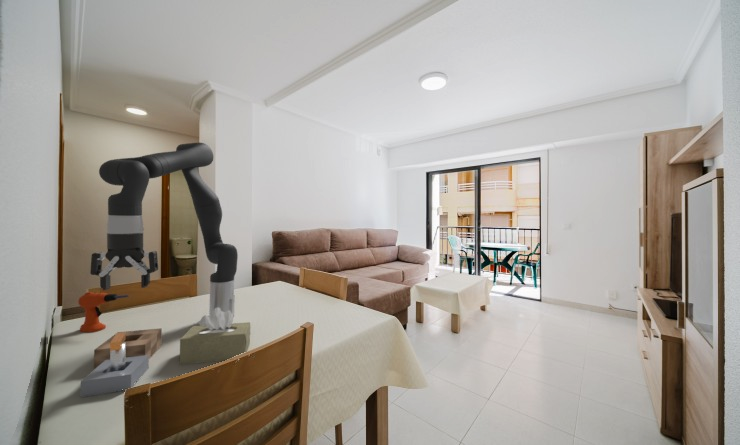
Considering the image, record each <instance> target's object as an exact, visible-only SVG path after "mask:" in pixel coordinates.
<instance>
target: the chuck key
mask: <svg viewBox="0 0 740 445" xmlns="http://www.w3.org/2000/svg"><path fill="white" fill-rule="evenodd" d="M121 332H122V333H118V332H116V333H115V334H114V335H115V336H114V335H113V336H114V338H113V339H112V341H111V343H110V372H114V371H122V370H125V364H126V342H124V341H125V339H126V331H121Z"/></svg>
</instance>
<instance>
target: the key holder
mask: <svg viewBox="0 0 740 445" xmlns="http://www.w3.org/2000/svg"><path fill="white" fill-rule="evenodd" d="M149 360H150V359H149V355H144V356H135V357H127V358H126V364H125V370H122V371H114V372H110V360H105V361H104V362H103V363H101V364H100V365H99V366H98V367H97V368H96V369H94V368H93V370H92V371H91V372H89V374H87V375H86V376H85V377H83V379H81V380H80V395H79V396H80V398H83V397H90V396H91V397H92V396H98V395H102V394H105V395H106V394H110V393H111V394H112V393H117V392H116V391H118V392H122V391H121V390H122V389H123V391H126V390H125V389H128V388H131V387H135V385H134V383H135V382H136V381H137V380H138V381H139V380H140V379H141V378H142V377H143V376H144V374H145V373H146V372H147V371H148V369H149V368H150V367H149V366H150V365H149V363H150V361H149ZM141 376H142V377H141ZM140 377H141V378H140ZM139 378H140V379H139Z"/></svg>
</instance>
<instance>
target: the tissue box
mask: <svg viewBox="0 0 740 445" xmlns="http://www.w3.org/2000/svg"><path fill="white" fill-rule="evenodd" d="M233 316H234V317H235V314H234V315H233V314H232V313H231V311H230V310H228V311H226V312H223V311H221V309H220V308H215V309H214V310H213V311H212V313H211V315H209V314H208V315H207V314H206V315H203V316H202V317H201V319H200V320H199V321H197V323H198V324H199V325H194V326H193V325H192V326H191V327H190V328H189V329H188V331H187V332H186V333H184V335H183V336H182V337H181V338H180V339H179V365H189V364H199V363H200V362H201V363H209V362H219V361H227V360H226V359H229V358H232V357H234V356H236V355H239V354H241V353H244V352H248V350H249V347H250V344H251V322H247V321H246V322H236V323H235V322H233V321H234V317H233Z"/></svg>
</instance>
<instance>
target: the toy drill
mask: <svg viewBox="0 0 740 445" xmlns="http://www.w3.org/2000/svg"><path fill="white" fill-rule="evenodd" d="M129 297H130V294H120V295H119V294H116V293H107V292H92V291H87V292H86V293H85V294H83V295H81V296H80V297H79V299H78V302H77V303H78V305H79V306H80V307H81V308H83V309H84V315H85V317H84V322H83V324H81V325H80V327H79V332H83V333H94V332H95V333H96V332H99V331H103V330H105V329H106V327H107V326H106V324H104V323H102V322H100V316H101V315H102V314H103V313H102V312H101V310H100V308H99V306H101V305H104V304H106V303H109V302H113V301H116V300H118V299H122V298H129Z"/></svg>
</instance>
